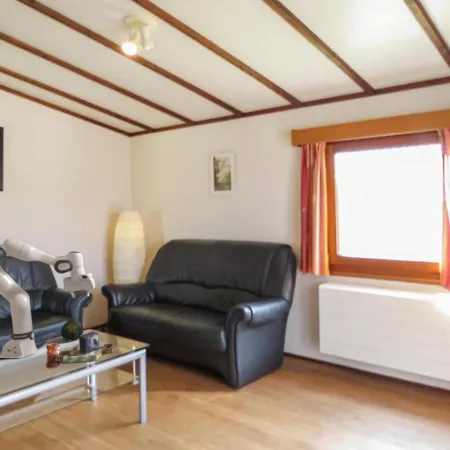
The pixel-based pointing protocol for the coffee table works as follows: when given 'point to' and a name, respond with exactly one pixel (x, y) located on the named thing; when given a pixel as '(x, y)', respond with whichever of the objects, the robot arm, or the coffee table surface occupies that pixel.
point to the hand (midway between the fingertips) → (80, 296)
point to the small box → (89, 342)
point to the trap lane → (107, 349)
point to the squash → (72, 329)
